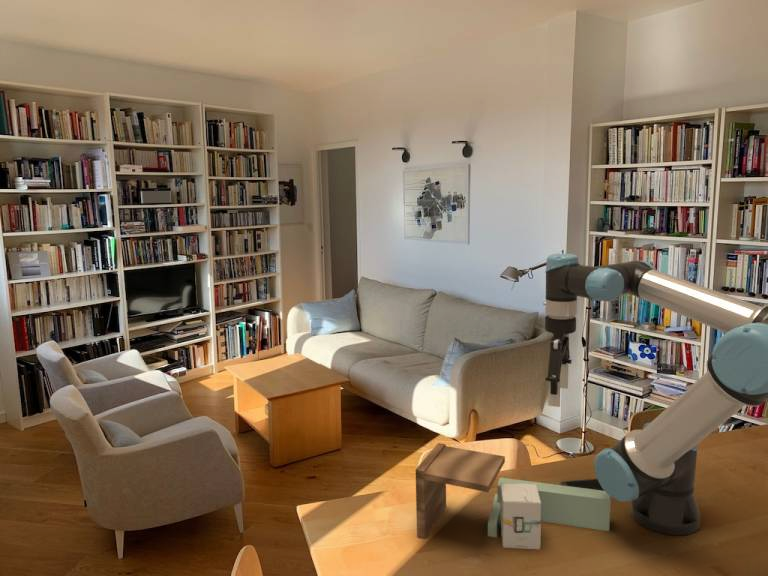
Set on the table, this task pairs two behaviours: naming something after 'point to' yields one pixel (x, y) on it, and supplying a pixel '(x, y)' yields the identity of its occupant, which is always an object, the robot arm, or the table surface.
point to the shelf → (450, 479)
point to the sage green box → (562, 506)
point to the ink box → (520, 516)
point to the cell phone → (584, 484)
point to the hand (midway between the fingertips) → (558, 396)
